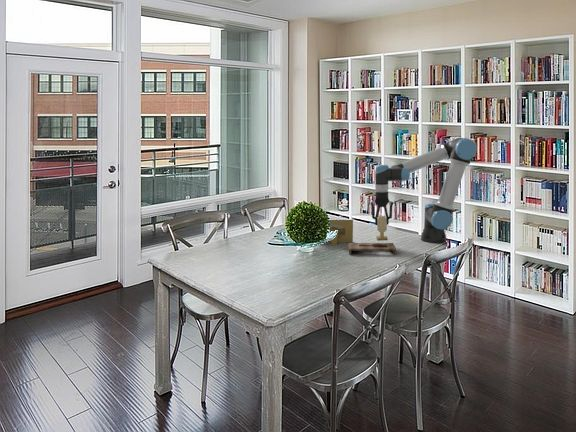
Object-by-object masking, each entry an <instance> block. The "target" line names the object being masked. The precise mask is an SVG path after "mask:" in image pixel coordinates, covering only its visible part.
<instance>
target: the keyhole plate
mask: <svg viewBox="0 0 576 432" xmlns="http://www.w3.org/2000/svg"><path fill="white" fill-rule="evenodd" d="M347 250H348V255H352V251H392V254H393V255H397V247H396V245H395V244H394V242H347Z"/></svg>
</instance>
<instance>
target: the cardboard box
mask: <svg viewBox="0 0 576 432" xmlns="http://www.w3.org/2000/svg"><path fill="white" fill-rule="evenodd" d="M329 220H330V232H331V231H335V230H338V233H337V235H336V237H335V238H334V239H333V240H331V241H330V242H329V243H331V246H335V245H338V244H337V243H354V242H353V241H354V220H353V219H329Z"/></svg>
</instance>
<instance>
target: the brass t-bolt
mask: <svg viewBox="0 0 576 432" xmlns="http://www.w3.org/2000/svg"><path fill="white" fill-rule="evenodd" d="M378 220H379V231H378V233H379V235H376V236H375V237H376V240H377V241H383V242H384V241H389V239H388V236H387V235H385V233H386V215H378Z"/></svg>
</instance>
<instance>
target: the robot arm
mask: <svg viewBox="0 0 576 432" xmlns="http://www.w3.org/2000/svg"><path fill="white" fill-rule="evenodd" d="M477 151H478V147H477V144H476V143H475V142H474V140H472V139H470V138H467V137H456V138H454V139H451V140H450V141H448V142H445V143H443V144H441V146H440V147H437V148H436V149H433V150H430V151H428V152H426V153H423V154H421V155H417V156H415V157H413V158H410V159H408V160H406V161H403V162H401V163H397V164H395V165H391V166H390V167H389V165H388V164H378V165H376V166H375V172H374V173H375V174H374V177H375V179H374V181H375V187H374V188H375V189H374V190H375V197H374V198H375V199H374V201H371V202H370V205H371V218H372V219H373V220H374V224H375V226H376V231H377V232H379V220H378V216H379V215H380V209H381V208H383V209H384V213H385V215H384V216H385V217H386V231H388V225H389V224H390V223H389V222H390V221H389V220H390V219H392V218H393V206H394V201H390V200H389V182H399V181H400V182H404V181H406V182H407V181H409V179H410V174H411V173H413V172H416V171H418V170H421V169H423V168H426V167H429V166H430V165H433V164H436V163H438V162H441V161H443V160H446V161H447V160H450V161H449V162H450V165H449V168H448V171H447V174H446V176H445V179H444V181H443V185H442V188H441V190H440V194H439V197H438V199H437V201H436V202H434V203H426V204H425V205H424V220H423V221H424V223H423V224H424V226H423V230H422V233H421V236H420V240H421V241H423V242H426V243H445V242H446V241H447V234H446V231H445V230H446V229H448V228H449V227H450V226H452V224H453V214H454V211H455V208H454V206H453V205H454V202H455V199H456V196H457V194H458V190H459V187H460V185H461V182H462V179H463V176H464V174H465V169H467V168H466V167H467V166H469V165H471V162H472V160H473V158H474V157H475V156H476V154H477ZM388 204H389V213H388V208H387V206H388ZM375 205H376V211H375ZM375 212H376V213H375Z"/></svg>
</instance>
